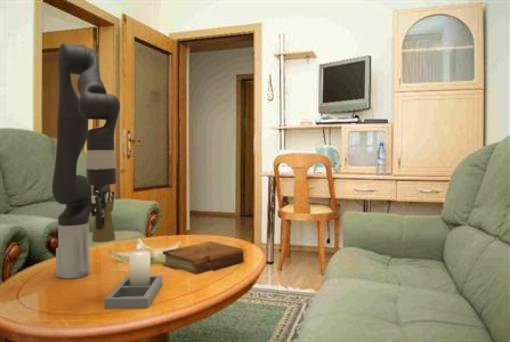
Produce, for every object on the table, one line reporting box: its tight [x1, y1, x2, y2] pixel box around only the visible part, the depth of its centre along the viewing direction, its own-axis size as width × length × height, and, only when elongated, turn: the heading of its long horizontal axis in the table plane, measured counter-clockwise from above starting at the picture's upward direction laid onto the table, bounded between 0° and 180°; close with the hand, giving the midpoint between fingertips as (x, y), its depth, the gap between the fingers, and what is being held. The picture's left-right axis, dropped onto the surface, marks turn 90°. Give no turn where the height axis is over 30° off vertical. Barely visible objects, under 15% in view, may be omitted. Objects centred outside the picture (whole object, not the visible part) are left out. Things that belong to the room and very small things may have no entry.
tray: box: [104, 275, 163, 310], centre depth 111 cm, size 11×19×3 cm, turn 2°
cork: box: [91, 200, 116, 243], centre depth 108 cm, size 6×6×11 cm
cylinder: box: [128, 249, 152, 286], centre depth 115 cm, size 6×6×11 cm
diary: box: [162, 240, 245, 275], centre depth 145 cm, size 23×19×6 cm
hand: (103, 229), depth 108 cm, fingers closed on cork, 3 cm apart
